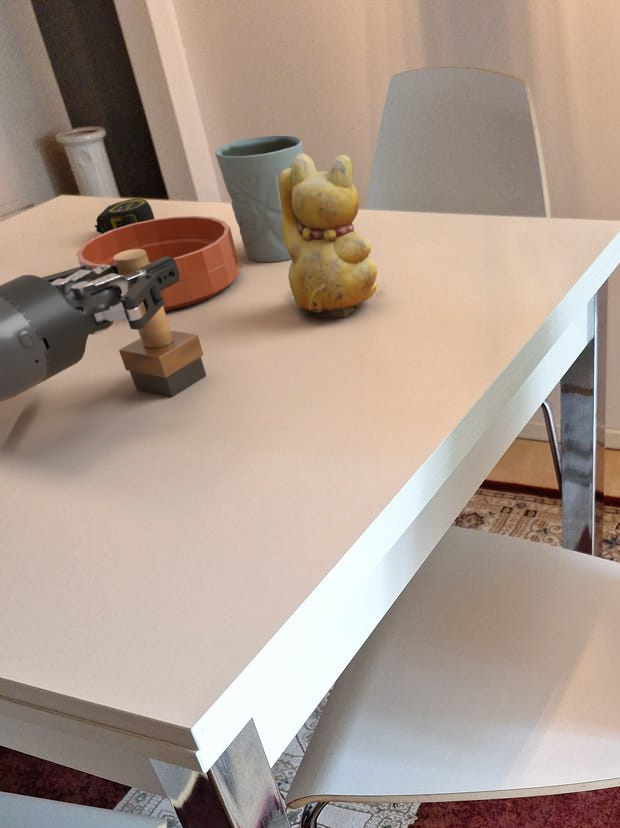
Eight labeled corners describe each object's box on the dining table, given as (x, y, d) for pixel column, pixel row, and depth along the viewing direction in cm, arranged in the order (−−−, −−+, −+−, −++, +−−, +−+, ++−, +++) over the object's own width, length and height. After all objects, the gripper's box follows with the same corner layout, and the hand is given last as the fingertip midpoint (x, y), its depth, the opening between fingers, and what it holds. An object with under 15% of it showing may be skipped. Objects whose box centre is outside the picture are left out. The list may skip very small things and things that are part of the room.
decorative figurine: (389, 295, 101) (367, 144, 91) (369, 325, 95) (342, 167, 85) (306, 296, 103) (275, 148, 93) (281, 326, 97) (245, 172, 87)
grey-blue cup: (226, 263, 114) (199, 157, 106) (264, 235, 121) (241, 134, 113) (300, 264, 111) (277, 155, 103) (334, 236, 118) (315, 132, 110)
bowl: (80, 325, 102) (61, 275, 98) (109, 272, 115) (93, 226, 111) (235, 305, 102) (221, 255, 99) (246, 255, 115) (235, 208, 112)
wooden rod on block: (132, 390, 88) (86, 262, 80) (170, 367, 91) (130, 242, 83) (172, 398, 86) (129, 267, 78) (209, 374, 89) (171, 247, 81)
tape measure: (117, 227, 130) (107, 199, 127) (164, 223, 129) (155, 195, 127) (100, 244, 124) (90, 214, 122) (149, 239, 124) (140, 210, 121)
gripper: (-29, 373, 78) (120, 298, 89) (85, 398, 72) (229, 315, 83) (-71, 284, 73) (92, 216, 84) (48, 304, 67) (206, 228, 78)
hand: (160, 266), depth 84 cm, fingers closed on wooden rod on block, 3 cm apart
